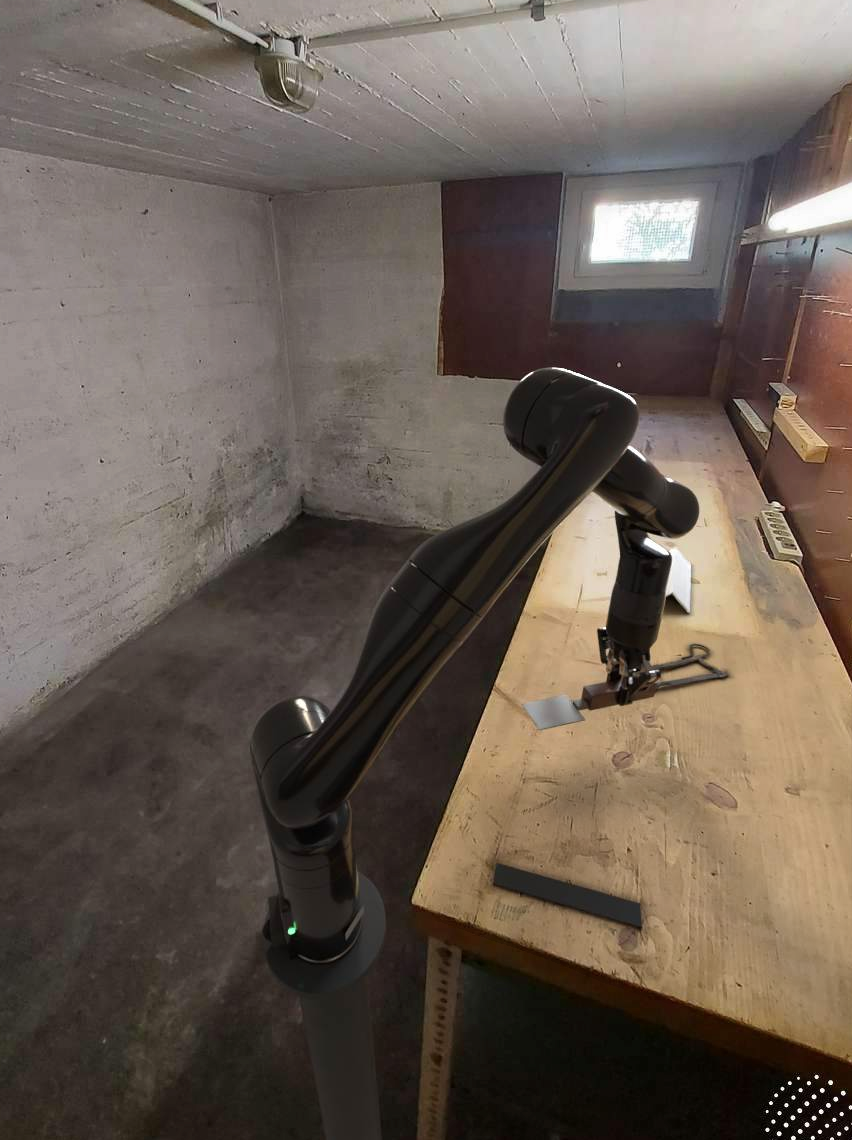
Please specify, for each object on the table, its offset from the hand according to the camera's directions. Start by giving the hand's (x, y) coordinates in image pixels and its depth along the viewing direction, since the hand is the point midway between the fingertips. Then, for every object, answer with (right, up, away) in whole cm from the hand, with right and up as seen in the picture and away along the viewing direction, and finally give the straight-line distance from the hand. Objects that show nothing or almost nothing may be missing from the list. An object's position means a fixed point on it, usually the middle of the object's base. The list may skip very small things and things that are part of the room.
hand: (618, 697), depth 92 cm
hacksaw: (+17, 0, +18) cm, 25 cm away
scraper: (-5, -1, -1) cm, 5 cm away
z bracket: (+30, +15, +48) cm, 59 cm away
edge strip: (-15, -19, -21) cm, 32 cm away
